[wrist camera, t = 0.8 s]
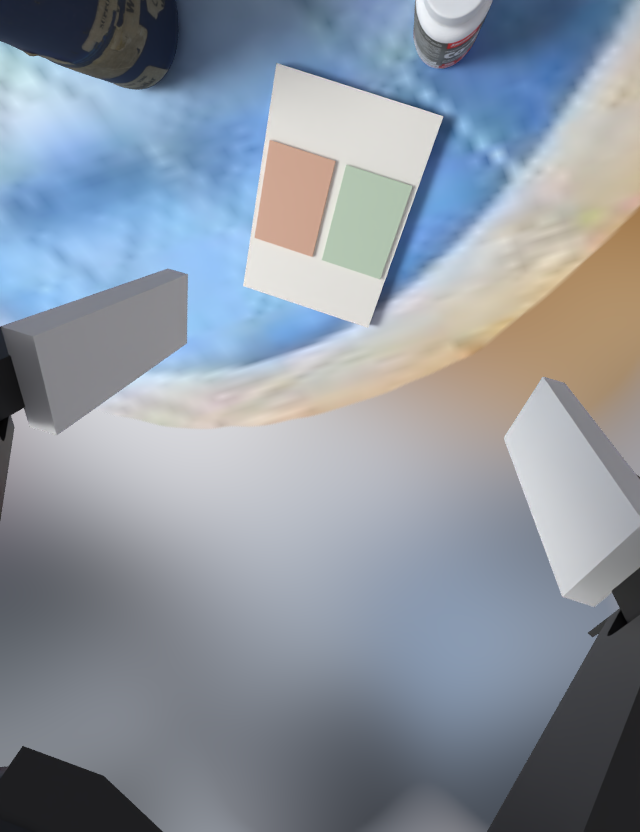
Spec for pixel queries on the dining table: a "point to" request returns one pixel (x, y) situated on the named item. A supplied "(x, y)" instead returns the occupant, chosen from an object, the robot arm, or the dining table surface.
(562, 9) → the dining table surface
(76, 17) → the canister
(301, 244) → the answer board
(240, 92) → the dining table surface
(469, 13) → the pill bottle
